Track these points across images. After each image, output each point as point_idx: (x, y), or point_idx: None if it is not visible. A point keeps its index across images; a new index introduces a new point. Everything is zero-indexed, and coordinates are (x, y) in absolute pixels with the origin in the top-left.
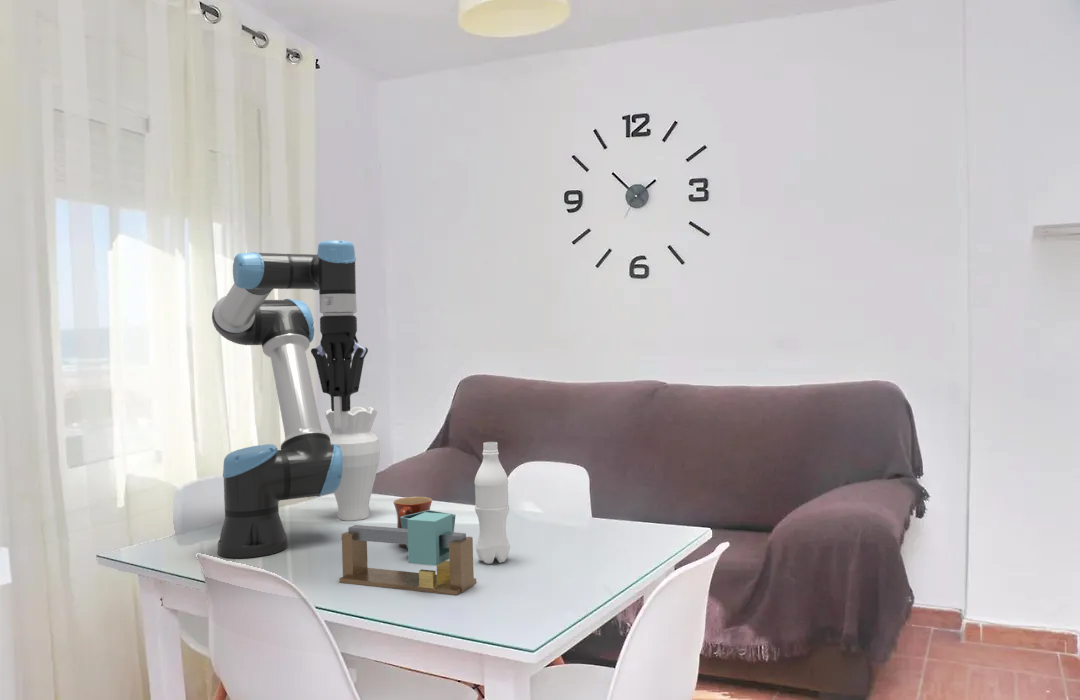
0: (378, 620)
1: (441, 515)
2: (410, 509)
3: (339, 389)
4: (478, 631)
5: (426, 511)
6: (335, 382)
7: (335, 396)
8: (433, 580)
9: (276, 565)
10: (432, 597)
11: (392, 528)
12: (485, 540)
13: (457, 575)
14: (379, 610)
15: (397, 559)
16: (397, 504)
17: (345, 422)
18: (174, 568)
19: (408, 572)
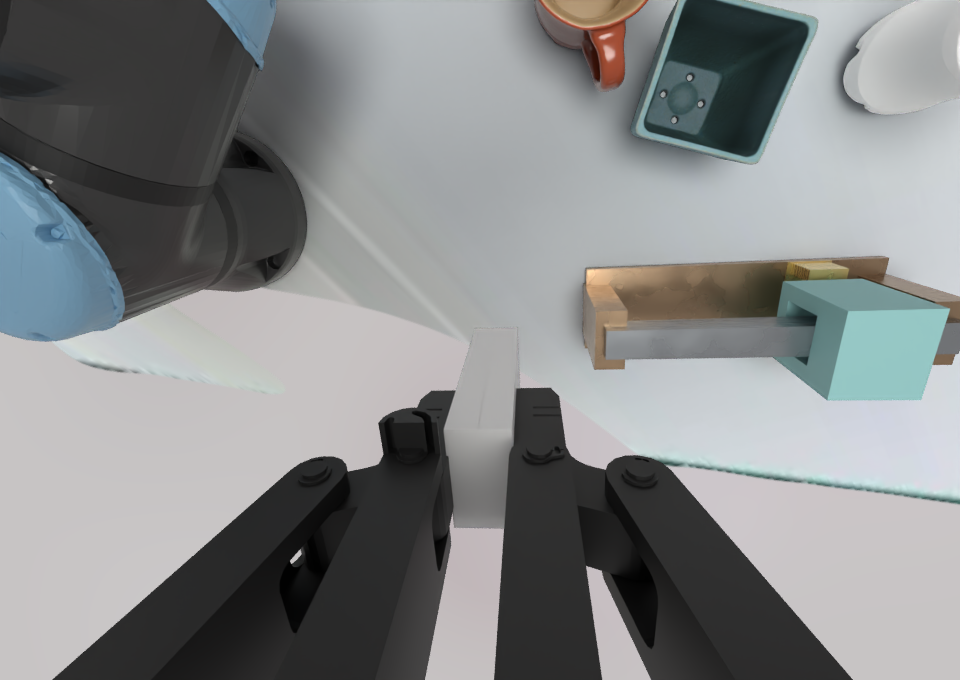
0: (762, 476)
1: (919, 334)
2: (625, 28)
3: (433, 493)
4: (953, 473)
5: (682, 6)
6: (428, 622)
7: (455, 510)
8: None
9: (382, 293)
10: None
11: (729, 335)
12: (919, 106)
13: None
14: (742, 442)
15: (612, 155)
16: (571, 26)
17: (518, 362)
18: (225, 370)
19: (710, 269)
